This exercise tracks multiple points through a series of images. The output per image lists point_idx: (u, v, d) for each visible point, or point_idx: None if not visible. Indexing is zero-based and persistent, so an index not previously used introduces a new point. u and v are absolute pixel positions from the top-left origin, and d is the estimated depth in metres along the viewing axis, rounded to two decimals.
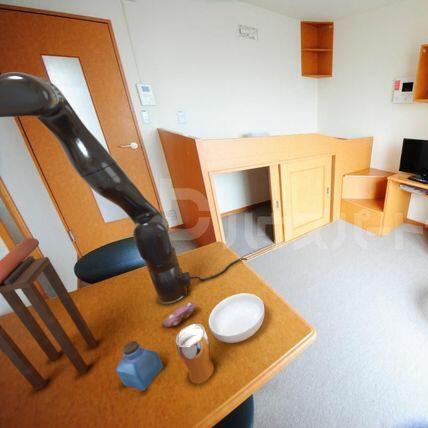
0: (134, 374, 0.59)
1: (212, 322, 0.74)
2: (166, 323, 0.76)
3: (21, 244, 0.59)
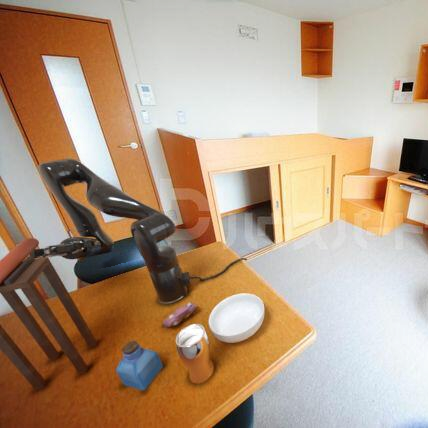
0: (134, 374, 0.59)
1: (212, 322, 0.74)
2: (166, 323, 0.76)
3: (21, 244, 0.59)
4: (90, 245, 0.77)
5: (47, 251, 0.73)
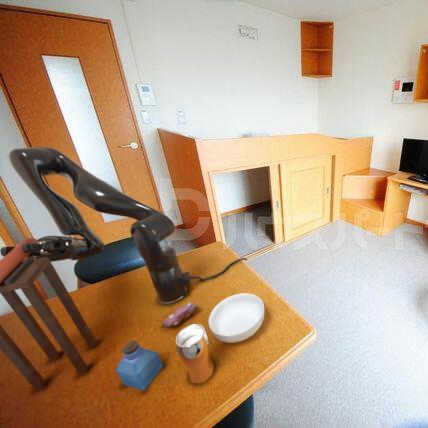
0: (134, 374, 0.59)
1: (212, 322, 0.74)
2: (166, 323, 0.76)
3: (21, 244, 0.59)
4: (50, 247, 0.62)
5: None
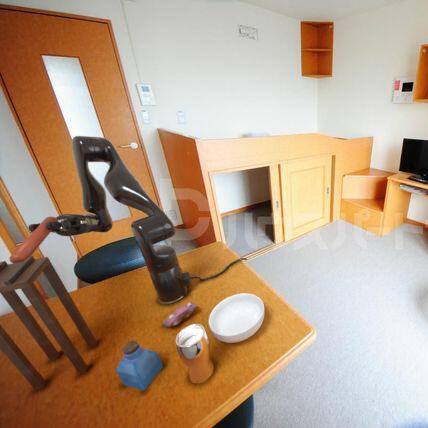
0: (134, 374, 0.59)
1: (212, 322, 0.74)
2: (166, 323, 0.76)
3: (44, 222, 0.70)
4: (68, 225, 0.74)
5: None
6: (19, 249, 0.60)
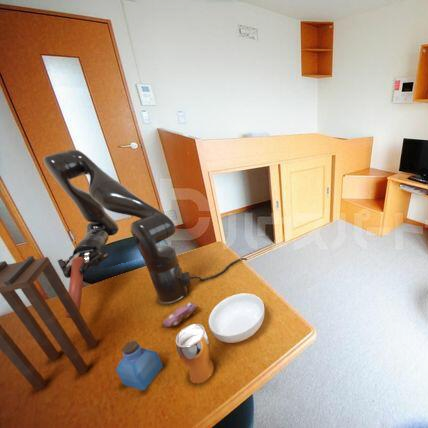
0: (134, 374, 0.59)
1: (212, 322, 0.74)
2: (166, 323, 0.76)
3: (75, 267, 0.79)
4: (95, 264, 0.83)
5: None
6: None
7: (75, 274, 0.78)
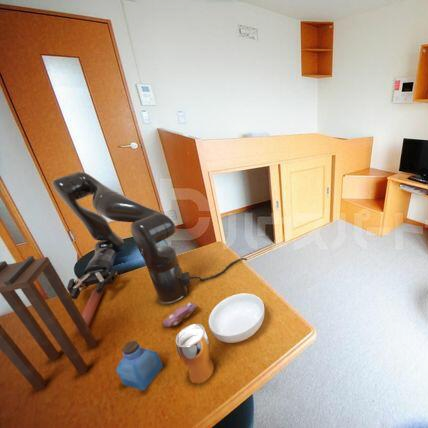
0: (134, 374, 0.59)
1: (212, 322, 0.74)
2: (166, 323, 0.76)
3: (94, 293, 0.87)
4: (110, 282, 0.88)
5: (80, 285, 0.85)
6: None
7: (93, 298, 0.85)
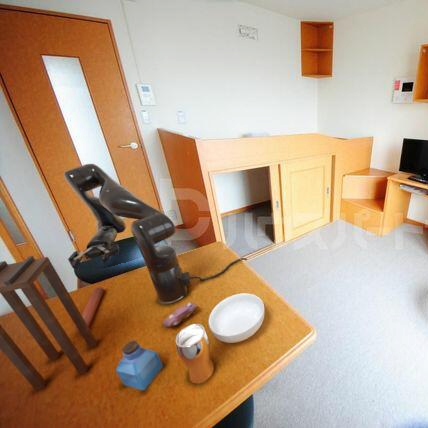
0: (134, 374, 0.59)
1: (212, 322, 0.74)
2: (166, 323, 0.76)
3: (95, 293, 0.87)
4: (115, 253, 0.95)
5: (82, 257, 0.91)
6: None
7: (93, 298, 0.85)
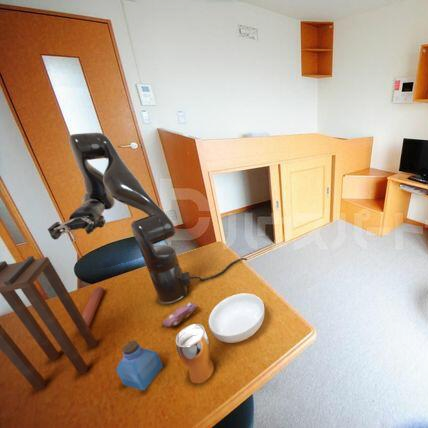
0: (134, 374, 0.59)
1: (212, 322, 0.74)
2: (166, 323, 0.76)
3: (95, 293, 0.87)
4: (101, 225, 0.87)
5: (63, 228, 0.84)
6: None
7: (94, 298, 0.85)
